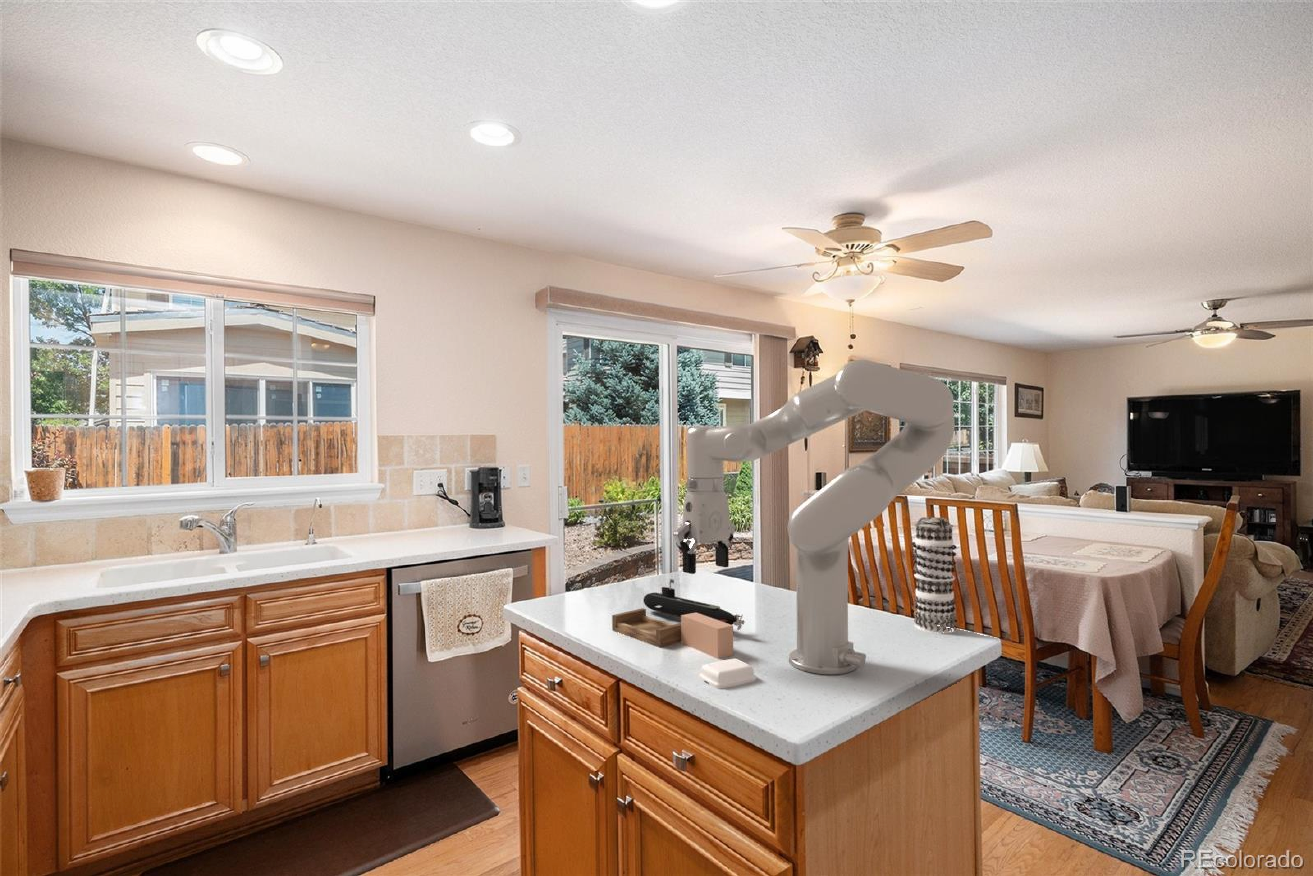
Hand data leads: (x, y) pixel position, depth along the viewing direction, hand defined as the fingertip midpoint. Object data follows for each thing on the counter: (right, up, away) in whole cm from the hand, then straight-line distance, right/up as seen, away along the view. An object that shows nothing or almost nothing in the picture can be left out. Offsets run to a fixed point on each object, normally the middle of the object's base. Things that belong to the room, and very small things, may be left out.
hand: (706, 569), depth 131 cm
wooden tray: (-11, -16, +10) cm, 22 cm away
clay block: (0, -16, 0) cm, 16 cm away
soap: (+2, -17, -17) cm, 24 cm away
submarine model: (-2, -17, +17) cm, 24 cm away
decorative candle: (+52, -16, +12) cm, 56 cm away
